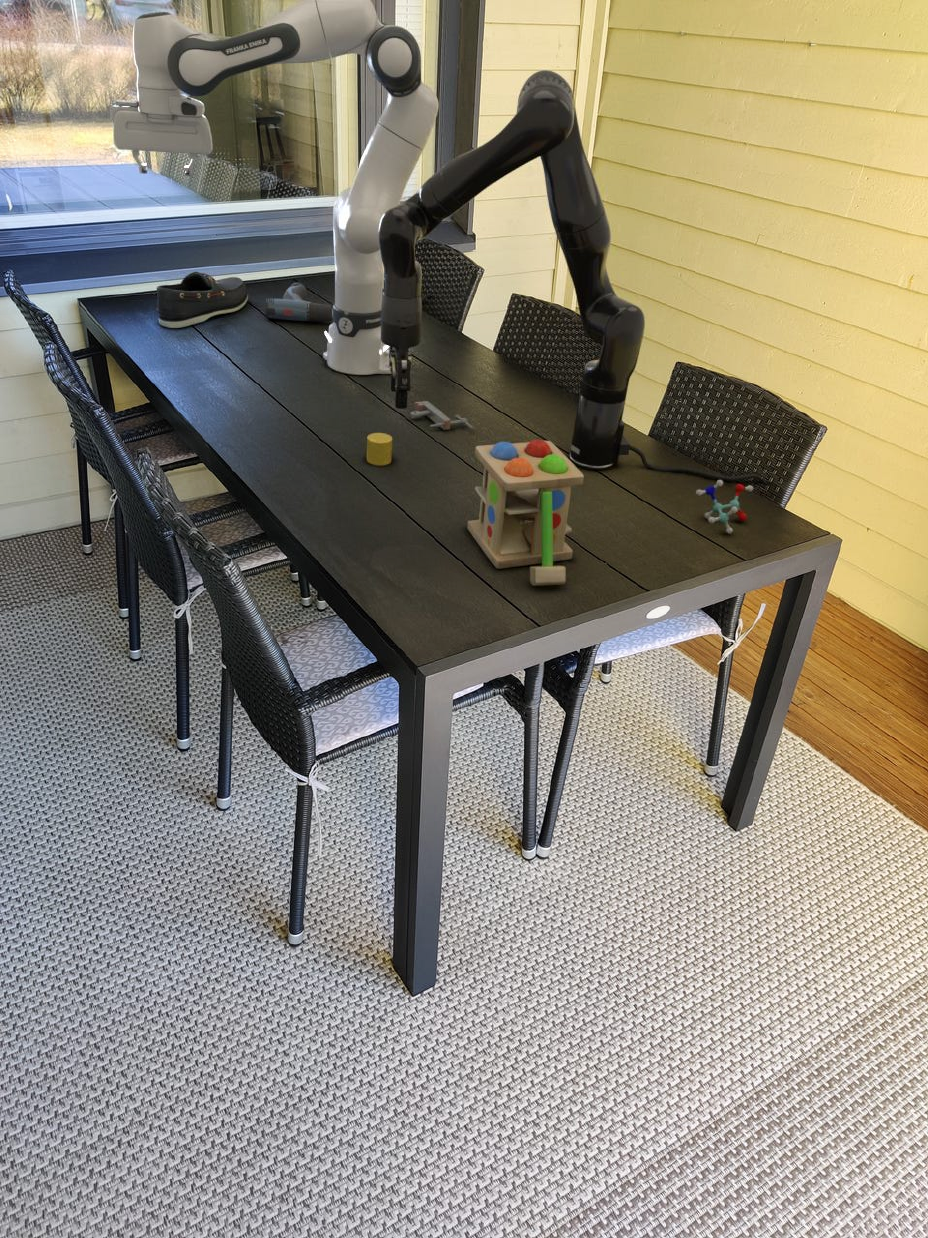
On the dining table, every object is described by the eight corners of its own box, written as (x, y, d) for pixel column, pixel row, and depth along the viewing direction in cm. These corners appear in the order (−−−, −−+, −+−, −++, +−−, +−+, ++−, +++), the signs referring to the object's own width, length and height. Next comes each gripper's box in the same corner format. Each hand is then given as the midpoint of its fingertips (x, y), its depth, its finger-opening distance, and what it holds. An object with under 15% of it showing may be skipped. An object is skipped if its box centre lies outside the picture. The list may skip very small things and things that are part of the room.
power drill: (344, 304, 276) (335, 327, 259) (277, 298, 275) (264, 321, 258) (344, 285, 273) (335, 306, 256) (277, 279, 272) (264, 300, 255)
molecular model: (759, 527, 176) (743, 474, 175) (707, 542, 180) (691, 490, 179) (762, 518, 187) (747, 467, 185) (712, 532, 190) (698, 483, 189)
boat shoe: (266, 306, 270) (264, 267, 265) (176, 330, 246) (172, 288, 241) (231, 297, 276) (229, 259, 270) (140, 320, 252) (135, 279, 246)
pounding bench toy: (594, 585, 162) (612, 488, 152) (515, 596, 157) (528, 496, 147) (538, 519, 179) (551, 428, 169) (466, 527, 175) (475, 434, 165)
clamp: (402, 403, 214) (442, 397, 219) (402, 412, 215) (442, 407, 220) (435, 430, 204) (476, 423, 208) (434, 439, 205) (475, 433, 209)
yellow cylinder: (374, 467, 192) (374, 444, 190) (362, 457, 195) (362, 434, 193) (395, 463, 195) (396, 440, 192) (383, 453, 198) (384, 431, 195)
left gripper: (106, 101, 200) (114, 174, 207) (209, 107, 203) (213, 179, 211) (109, 96, 205) (117, 168, 212) (210, 103, 208) (214, 173, 216)
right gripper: (377, 305, 189) (376, 385, 198) (385, 329, 177) (383, 414, 187) (416, 305, 190) (412, 385, 199) (426, 330, 179) (422, 414, 188)
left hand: (166, 174), depth 212 cm, fingers open, 8 cm apart
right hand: (398, 399), depth 193 cm, fingers open, 8 cm apart
